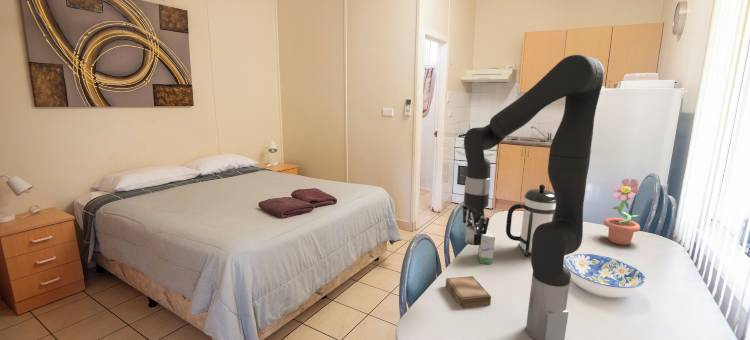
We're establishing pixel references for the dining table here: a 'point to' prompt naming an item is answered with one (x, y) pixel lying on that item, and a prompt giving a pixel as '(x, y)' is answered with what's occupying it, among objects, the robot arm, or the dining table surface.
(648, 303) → the dining table surface
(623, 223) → the decorative flower
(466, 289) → the tray
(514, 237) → the coffee press
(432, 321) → the dining table surface
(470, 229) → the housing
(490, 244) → the ink box
